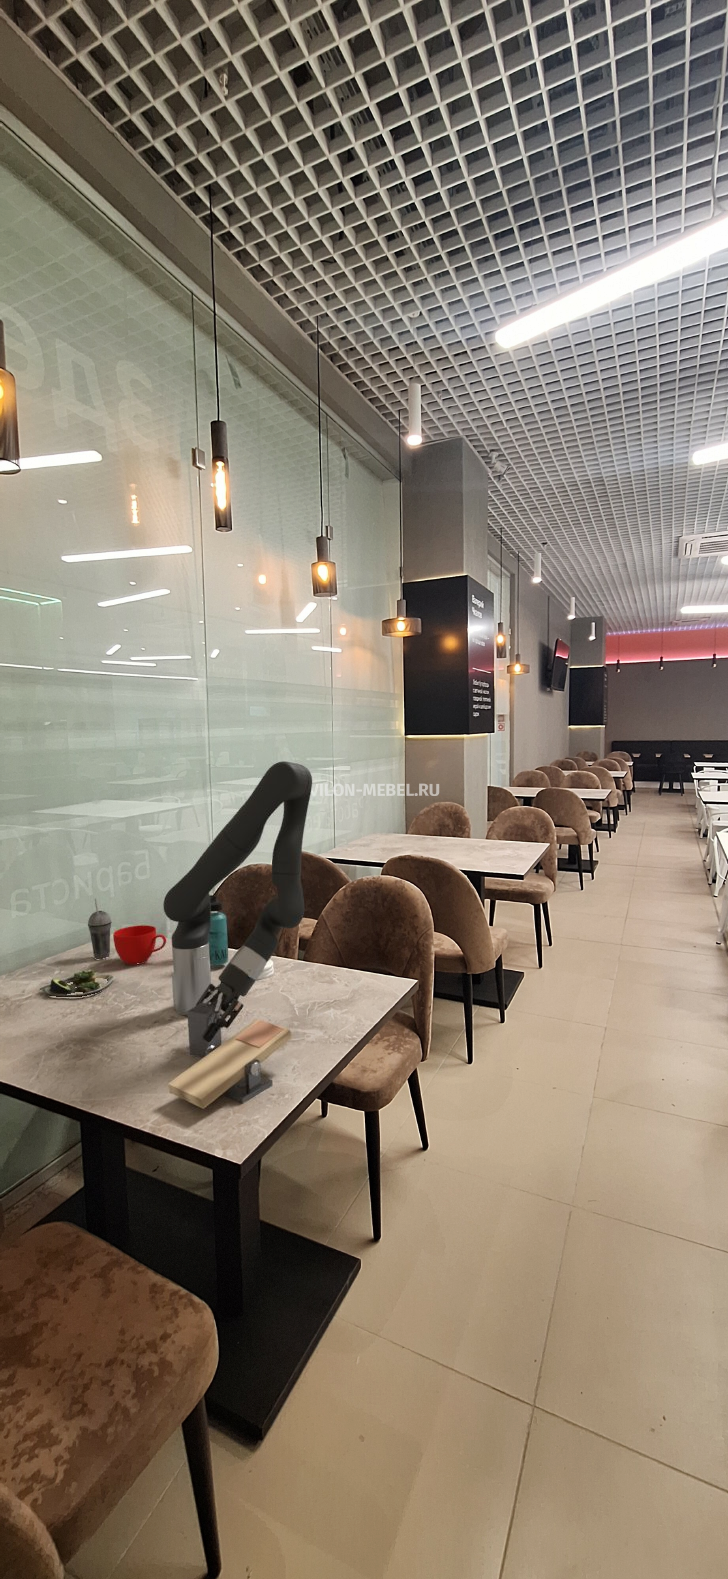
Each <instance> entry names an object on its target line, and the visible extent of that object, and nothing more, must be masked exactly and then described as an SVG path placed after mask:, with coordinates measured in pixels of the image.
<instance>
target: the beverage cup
mask: <svg viewBox="0 0 728 1579" xmlns="http://www.w3.org/2000/svg"><path fill="white" fill-rule="evenodd" d="M94 903H95V905H94V906H95V910H96V911H94V912H93V913H92V914H91V915H90V916H89V918H88V920H87V926H88V931H89V933H90V939H91V946H92V951H93V952H92V953H93V956H94V959H95V958H96V959H103V958H106V957H109V958H110V953H111V927H112V919H111V917H110V915H109V913H107V912H106V911H105V910H99V907H98V900H97V898H94Z"/></svg>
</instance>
